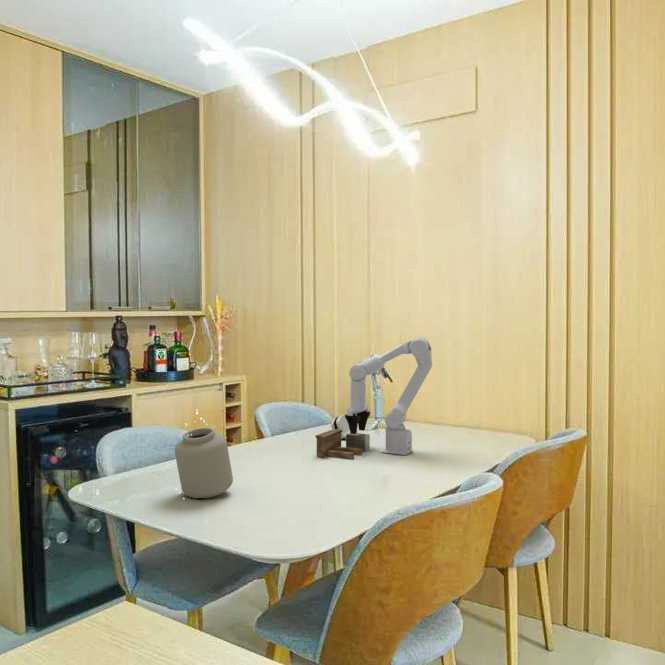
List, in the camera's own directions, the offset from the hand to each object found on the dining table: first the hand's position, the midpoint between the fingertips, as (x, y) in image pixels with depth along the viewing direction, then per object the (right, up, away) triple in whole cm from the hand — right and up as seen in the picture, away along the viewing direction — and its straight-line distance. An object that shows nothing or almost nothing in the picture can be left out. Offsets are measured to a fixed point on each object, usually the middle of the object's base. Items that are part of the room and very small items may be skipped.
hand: (357, 432), depth 250 cm
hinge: (-5, -6, +26) cm, 27 cm away
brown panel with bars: (-6, -7, -9) cm, 13 cm away
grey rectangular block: (0, -7, 0) cm, 7 cm away
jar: (-47, -9, -61) cm, 78 cm away
